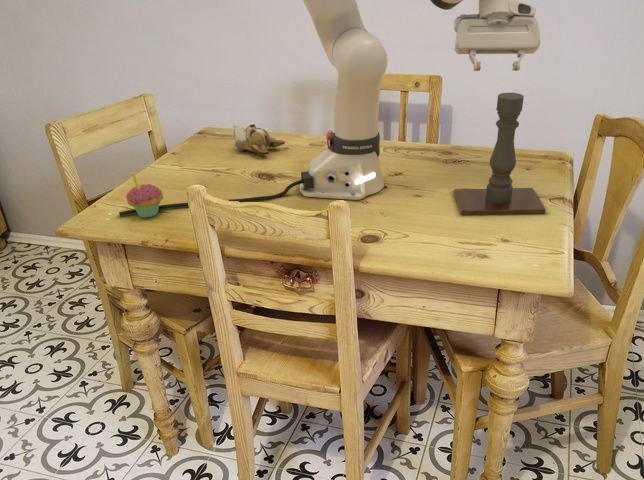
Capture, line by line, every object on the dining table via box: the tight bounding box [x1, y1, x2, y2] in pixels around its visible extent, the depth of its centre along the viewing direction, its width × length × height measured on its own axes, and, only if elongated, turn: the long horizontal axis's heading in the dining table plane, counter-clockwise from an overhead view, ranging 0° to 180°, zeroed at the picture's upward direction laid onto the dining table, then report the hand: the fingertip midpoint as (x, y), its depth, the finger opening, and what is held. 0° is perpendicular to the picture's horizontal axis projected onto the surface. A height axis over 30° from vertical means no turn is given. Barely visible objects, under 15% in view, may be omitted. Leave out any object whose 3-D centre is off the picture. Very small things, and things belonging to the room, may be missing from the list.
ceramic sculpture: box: [233, 124, 286, 156], centre depth 183 cm, size 11×9×15 cm
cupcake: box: [126, 169, 164, 218], centre depth 146 cm, size 9×8×12 cm
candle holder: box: [486, 92, 525, 204], centre depth 142 cm, size 6×6×25 cm
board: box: [453, 187, 546, 216], centre depth 150 cm, size 20×13×1 cm, turn 89°
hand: (496, 70), depth 147 cm, fingers open, 8 cm apart
